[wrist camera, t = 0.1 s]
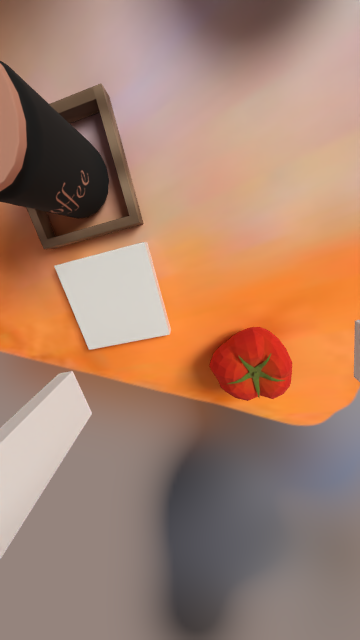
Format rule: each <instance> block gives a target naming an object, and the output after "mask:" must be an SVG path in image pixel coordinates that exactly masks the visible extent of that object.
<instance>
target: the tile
mask: <svg viewBox="0 0 360 640" xmlns="http://www.w3.org/2000/svg"><path fill="white" fill-rule="evenodd" d="M54 267H55V269H56V271H57V274H58V276H59V279H60V281H61V283H62V286H63V288H64V291H65V293H66V296H67V298H68V300H69V303H70V305H71V308H72V310H73V312H74V315H75V317H76V320H77V322H78V324H79V327H80V329H81V332H82V334H83V336H84V339H85V341H86V344H87V346H88V349H89V350H91V349H96V348H101V347H106V346H112V345H117V344H122V343H127V342H133V341H138V340H143V339H148V338H154V337H159V336H164V335H169V334H170V332H171V328H170V325H169V321H168V317H167V314H166V310H165V306H164V302H163V299H162V295H161V291H160V288H159V284H158V280H157V277H156V273H155V269H154V266H153V262H152V258H151V254H150V251H149V247H148V243H147V242H142V243H138V244H135V245H131V246H127V247H123V248H120V249H116V250H112V251H108V252H104V253H101V254H97V255H93V256H89V257H86V258H82V259H78V260H74V261H71V262H67V263H63V264H59V265H56V266H54Z"/></svg>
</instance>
